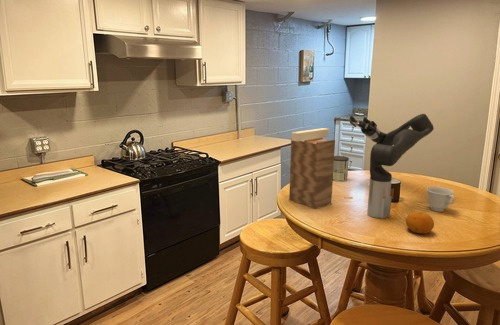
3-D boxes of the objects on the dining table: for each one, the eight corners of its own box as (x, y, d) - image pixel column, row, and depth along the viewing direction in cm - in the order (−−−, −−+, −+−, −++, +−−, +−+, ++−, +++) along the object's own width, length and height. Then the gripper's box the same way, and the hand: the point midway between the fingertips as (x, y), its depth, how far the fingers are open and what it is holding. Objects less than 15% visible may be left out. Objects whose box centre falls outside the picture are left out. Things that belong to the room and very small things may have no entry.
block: (328, 136, 189) (329, 128, 188) (297, 141, 174) (297, 133, 173) (323, 135, 192) (323, 128, 191) (291, 140, 177) (291, 132, 176)
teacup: (441, 217, 165) (443, 197, 162) (418, 206, 178) (420, 187, 176) (462, 215, 168) (465, 194, 165) (438, 204, 182) (440, 185, 179)
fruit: (424, 225, 156) (426, 208, 154) (437, 236, 145) (440, 218, 143) (400, 226, 155) (402, 208, 153) (412, 236, 145) (414, 218, 143)
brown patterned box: (331, 203, 182) (335, 140, 174) (315, 209, 175) (318, 142, 167) (304, 194, 196) (307, 135, 188) (289, 199, 188) (291, 137, 181)
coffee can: (329, 177, 230) (330, 155, 227) (345, 177, 229) (347, 156, 226) (331, 181, 221) (332, 159, 217) (348, 182, 220) (350, 159, 216)
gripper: (379, 138, 199) (366, 125, 189) (357, 134, 210) (343, 123, 200) (384, 125, 200) (371, 112, 190) (362, 123, 211) (348, 110, 200)
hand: (357, 118), depth 195 cm, fingers open, 8 cm apart
